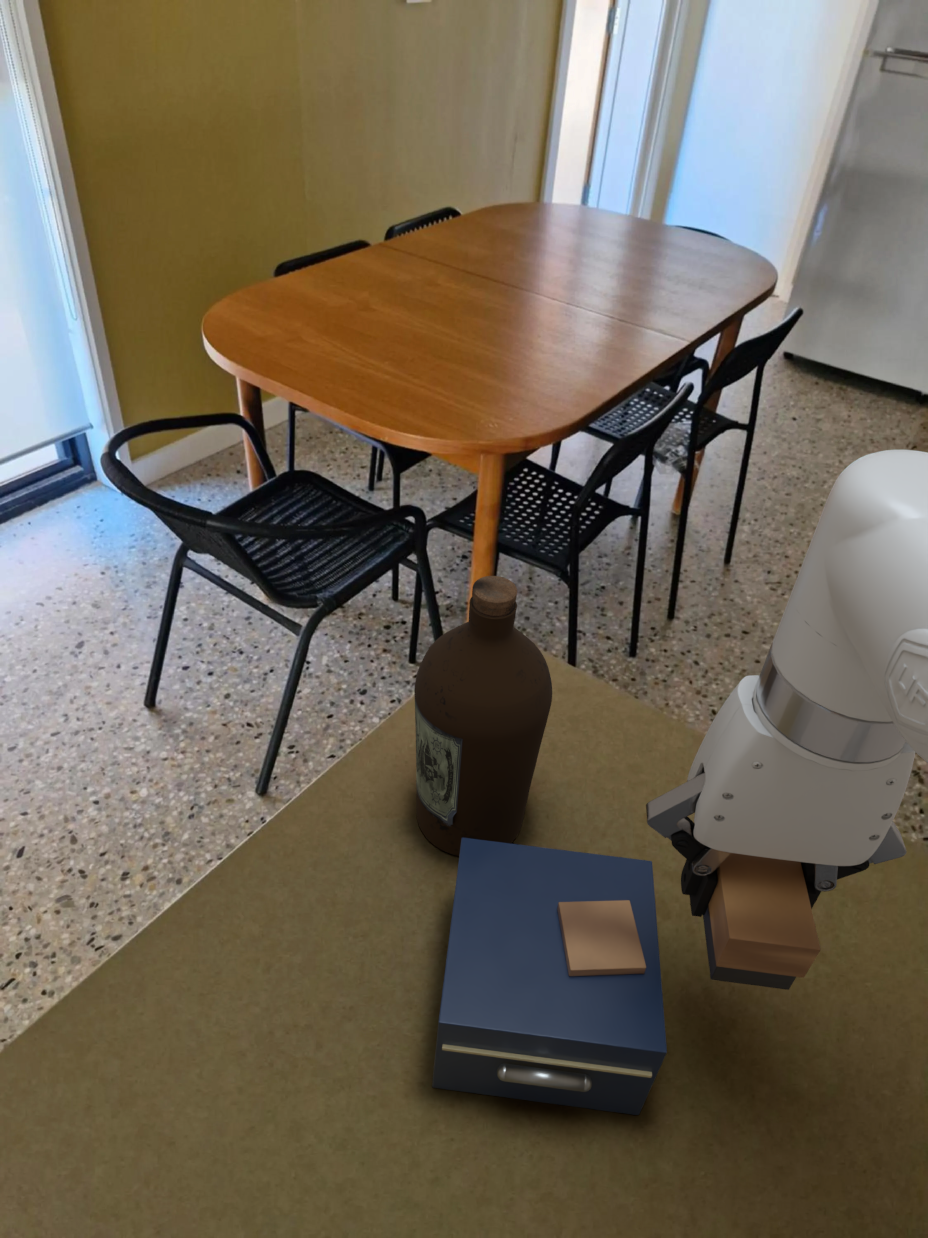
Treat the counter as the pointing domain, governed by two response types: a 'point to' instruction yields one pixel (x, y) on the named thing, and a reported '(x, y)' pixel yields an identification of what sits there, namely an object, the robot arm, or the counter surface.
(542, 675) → the olive oil
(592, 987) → the blue drawer box
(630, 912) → the coaster
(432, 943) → the counter surface
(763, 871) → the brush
